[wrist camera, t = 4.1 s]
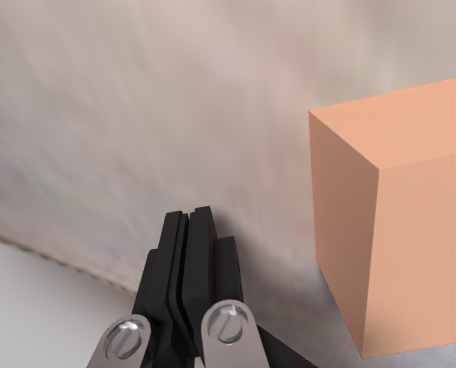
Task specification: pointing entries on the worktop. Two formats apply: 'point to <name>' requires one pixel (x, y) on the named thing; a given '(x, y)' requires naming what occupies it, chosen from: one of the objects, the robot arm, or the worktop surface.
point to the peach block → (389, 215)
